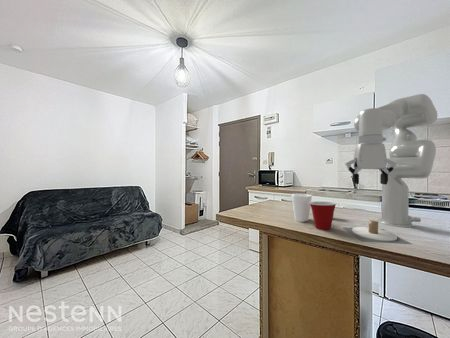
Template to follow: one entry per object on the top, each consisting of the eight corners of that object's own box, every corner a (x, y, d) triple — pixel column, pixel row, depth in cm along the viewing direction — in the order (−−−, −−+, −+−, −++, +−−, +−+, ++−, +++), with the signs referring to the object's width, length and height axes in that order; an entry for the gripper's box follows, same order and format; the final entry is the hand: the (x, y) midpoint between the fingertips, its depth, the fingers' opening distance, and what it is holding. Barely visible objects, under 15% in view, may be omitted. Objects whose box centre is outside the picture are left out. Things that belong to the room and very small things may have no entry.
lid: (381, 229, 82) (382, 217, 82) (406, 242, 69) (407, 227, 68) (346, 228, 85) (346, 216, 85) (363, 240, 71) (363, 225, 71)
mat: (383, 230, 83) (383, 229, 83) (412, 245, 67) (412, 243, 67) (342, 228, 86) (342, 227, 86) (361, 242, 70) (361, 241, 70)
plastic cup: (322, 224, 92) (322, 199, 92) (342, 231, 82) (342, 203, 82) (303, 226, 89) (303, 200, 89) (322, 234, 79) (322, 205, 78)
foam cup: (314, 223, 94) (314, 196, 94) (295, 223, 95) (295, 196, 94) (306, 217, 104) (306, 193, 104) (289, 217, 104) (289, 193, 104)
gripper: (389, 141, 79) (389, 183, 79) (342, 142, 82) (342, 182, 83) (402, 138, 71) (401, 185, 72) (349, 140, 75) (349, 184, 75)
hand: (369, 183), depth 77 cm, fingers open, 9 cm apart
